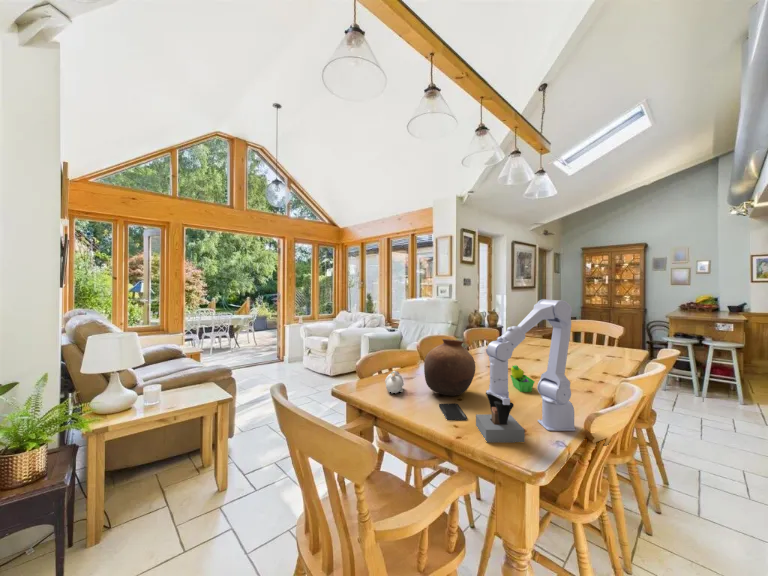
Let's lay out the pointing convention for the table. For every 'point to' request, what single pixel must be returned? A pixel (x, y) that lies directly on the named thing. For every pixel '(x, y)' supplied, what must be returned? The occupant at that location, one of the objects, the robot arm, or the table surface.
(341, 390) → the table surface
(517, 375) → the fruit basket
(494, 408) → the peg
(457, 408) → the phone
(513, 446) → the table surface
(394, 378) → the white rounded piece
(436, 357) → the pottery
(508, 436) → the socket block
